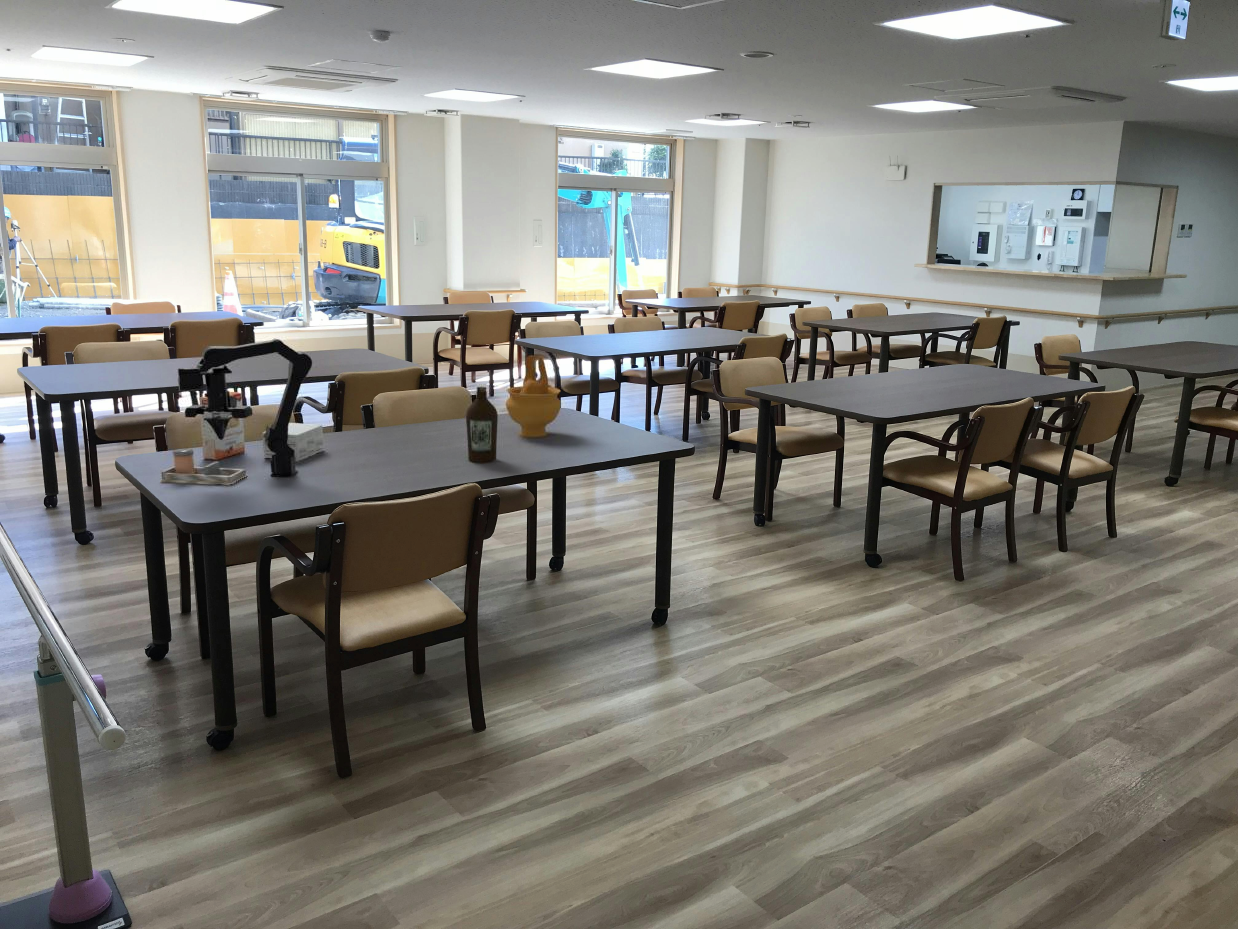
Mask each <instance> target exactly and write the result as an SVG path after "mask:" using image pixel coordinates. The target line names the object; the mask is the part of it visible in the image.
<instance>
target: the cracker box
mask: <svg viewBox="0 0 1238 929" xmlns="http://www.w3.org/2000/svg"><path fill="white" fill-rule="evenodd" d="M229 393H230V396H233V397H236V398H237V407H238V406H243V397H242V396H243V394H242V392H239V391H238V392H236V391H229ZM198 399H199V405H204V406H205V407H208V402H207V397H205V395H204V396H201V397H199V398H198ZM229 409H233V408H232V407H231V408H229ZM213 412H217V411H213ZM221 412H222V411H221ZM199 416H200V427H201V443H202V444H201V445H202V456H203V459H207V460H211V459H212V460H213V461H217V460H222V459H225V458H229V457H231V456H232V455H233V456H235V455H234V454H236V455H239V454H238V453H240V454H242V453H241V452H243V453H245V452H246V448H245V446H246V445H245V430H244V418H232V419H230V421H229V423H228V425H227V428H226V432H225V435H224V439H223V440H219V438H218V436H217V435H216V433H215V432H214V430H213V428H212V427H211V426H210V424H209V423H208V422H207V421H206V420H204V418H205V414H199ZM228 456H229V457H228ZM224 457H225V458H224ZM221 458H222V459H221Z"/></svg>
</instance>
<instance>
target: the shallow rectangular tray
mask: <svg viewBox="0 0 1238 929" xmlns="http://www.w3.org/2000/svg"><path fill="white" fill-rule="evenodd" d="M204 467H205V466H194V471H195V474H180V473H175V467H174V465H173V466H171V467H168V468H165V469H164V470H162V471H161V473H160V474H161V479H160V483H162V482H163V483H179V484H180V483H181V484H195V483H196V484H198V485H201V484H202V485H215V484H222V485H221V486H231V485H230V484H232V485H233V484H235V483H237V482H239V481H241V480H242V478H243V479H245V478H247V477H248V474H247V471H246V470H247V469H245V468H243V469H242V468H225V467H219V469H220V474H219V475H205V474H204ZM246 476H247V477H246ZM244 477H245V478H244ZM240 479H241V480H240ZM238 480H239V481H238ZM236 481H237V482H236Z"/></svg>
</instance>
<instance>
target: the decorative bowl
mask: <svg viewBox="0 0 1238 929" xmlns="http://www.w3.org/2000/svg"><path fill="white" fill-rule="evenodd" d="M537 363H538V364H537V366H538V371H539V374H540V375H539V376H540V377H539V379H537V377H536V373H537V372H536V366H535V364H536V360H535V356H534V355H529V356H527V357H526V358H525V363H524V364H525V368H526V369H525V370H526V373H525V377H524V379H523V381H522V386H521V385H520V386H513V387H508V388H507V389H506V392H507V393H508V394H509V395H510V396H509V397H508V398H507V399H506V402H505V407H506V410H507V413H508V415H509V417H510V419H512V421H513V422H515V423H516V424H518V425H519V426H520V427H521V430H520V432H519V435H520V434H521V436H522V437H528V438H540V437H541V438H542V437H545V436H548V433H547V431H546V427H547V426H548V425H549V424H551V423H552V422H554V421H555V420H556V419H557V417H558V415H559V413H560V411H561V407H562V402H561V400H560V398H558V395H559V394H560V393H561V390H560V389H559V388H556V387H552V386H549V378H548V374H547V369H546V364H545V361H544V359H543V357H542V356H541V355H540V356H539V357H538V359H537Z"/></svg>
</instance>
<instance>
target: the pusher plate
mask: <svg viewBox="0 0 1238 929" xmlns="http://www.w3.org/2000/svg"><path fill="white" fill-rule="evenodd" d="M203 467H204V474H205V475H219V474H220V469H219V468H220V461H214V462H211V463H209V464H207V465H204V466H203Z"/></svg>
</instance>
